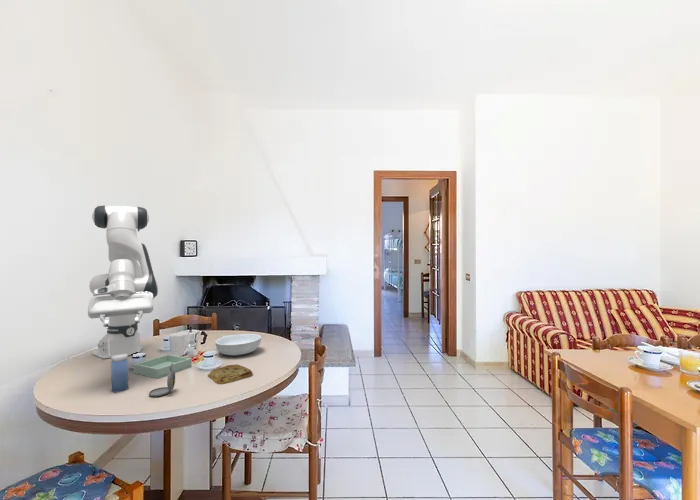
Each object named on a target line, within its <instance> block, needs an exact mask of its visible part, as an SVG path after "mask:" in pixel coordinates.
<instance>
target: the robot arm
mask: <svg viewBox="0 0 700 500" xmlns="http://www.w3.org/2000/svg"><path fill="white" fill-rule="evenodd" d="M147 210H148V209H146V208H144V207H141V206H131V205H98V206H96V207H95V208H94V210H93V211H92V216H91V217H92V218H91V219H92V222H93V223H94V225H95V226H96V227H97V228H100V229H105V231H106V233H105V235H106V236H105V238H106V243H107V248H108V261H109V262H110V265H109V268H108V273H103V274H98V275H95V276H93V277H92V278H91V280H90V281H89V286H88V287H89V291H90V292H91V294H92V297H91V298H90V300H89V303H88V307H87V316H88V318H90V319H92V320H93V319H99V320H100V321H101V322H102V324H103V325H102V326H103V328H106V329H107V331H106V334H105V335H104V336H103V337H102V338H101V339H100V340H99V341H98V343H97V348H98V349H97V350H94V351H92V355H94V356H96V357H97V358H98V357H99V359H112V356H113V355H116V354H122V353H126V354H127V357H128V356H132V355H131V354H133V353H135V352H138V353H140V352H141V351H142V350H143V349H144V346H142V344H141V334H140V332H138V330H139V329H138V327H139V325H138V324H141V323H140V321H141V318H143V316H144V314H151V313H152V312H153V311H154V303H153V302H154V301H153V300H154V299H155V298H156V297H157V296H158V294H159V285H158V283H157V280H156V277H155V273H154V270H153V268H152V263H151V259H150V255H149V252H148V248H147V247H146V245H145V244H144V243H142V242H141V241H140V240H139V239H138V236H137V235H138V234H137V232H140V230H143V229H146V227H147V226H148V224H149V222H150V215H149V212H148V211H147ZM106 318H108V319H107V320H106ZM133 355H134V354H133Z"/></svg>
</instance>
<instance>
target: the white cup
mask: <svg viewBox="0 0 700 500" xmlns="http://www.w3.org/2000/svg"><path fill="white" fill-rule="evenodd" d="M168 335H169V350H170V355H174V356H181V357H183V356H182V355H183V354H184V351H185V350H186V348H187V349H188V341H189V340H188V338H189V333H188V332H186V331H179V332H173V333H170V334H168Z"/></svg>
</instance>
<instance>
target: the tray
mask: <svg viewBox="0 0 700 500" xmlns="http://www.w3.org/2000/svg"><path fill="white" fill-rule="evenodd" d="M172 363H173V365H171V364H172ZM170 366H172V370H174V371H175V373H177V372H180V371H183V370H186V369H189V368H192V367H193V365H192V358H191V357H185V356H181V357H180V356H174V355H171V354H170V353H169V354H165V355H161V356H159V357H158V356H157V357H155V358H151V359H148V360H145V361H142V362H138V363H134V364H133V374H136V375H141V376H144V377H149V378H153V379H162V378H164V377H166V376H167V377H168V374H169V372H170Z"/></svg>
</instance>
